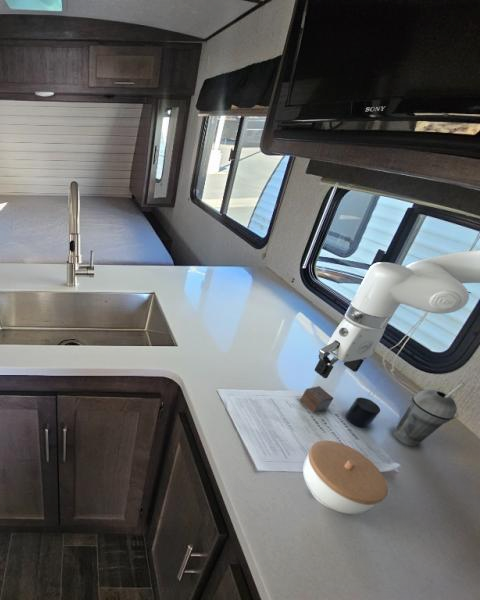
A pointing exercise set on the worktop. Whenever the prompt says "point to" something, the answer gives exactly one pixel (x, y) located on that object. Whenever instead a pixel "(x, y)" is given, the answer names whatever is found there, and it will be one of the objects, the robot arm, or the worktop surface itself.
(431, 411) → the beverage cup
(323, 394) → the walnut block
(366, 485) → the lidded bowl
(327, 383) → the worktop surface
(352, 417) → the black cylinder
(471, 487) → the worktop surface
